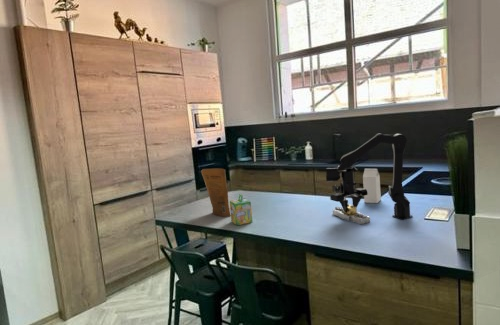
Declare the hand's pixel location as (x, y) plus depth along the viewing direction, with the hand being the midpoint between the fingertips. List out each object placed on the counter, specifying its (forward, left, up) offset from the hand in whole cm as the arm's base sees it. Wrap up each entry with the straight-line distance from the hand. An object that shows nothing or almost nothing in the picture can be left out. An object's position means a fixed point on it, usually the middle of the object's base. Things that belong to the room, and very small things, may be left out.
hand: (350, 211), depth 167 cm
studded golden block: (0, 0, -3) cm, 3 cm away
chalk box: (+32, +46, -4) cm, 56 cm away
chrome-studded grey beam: (0, 0, -3) cm, 3 cm away
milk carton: (+15, -28, -4) cm, 32 cm away
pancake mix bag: (+54, +51, -4) cm, 74 cm away
